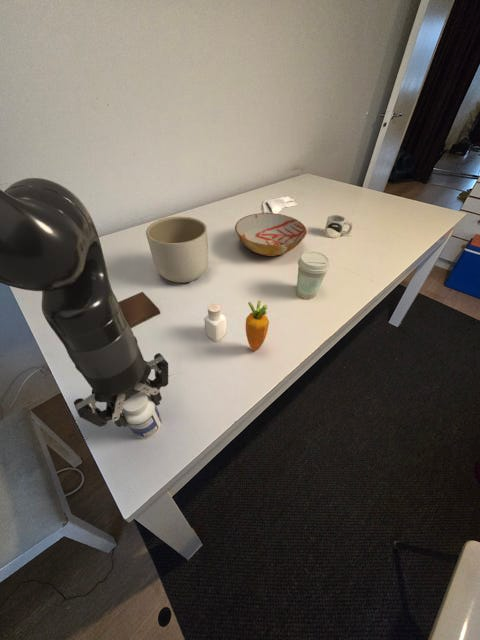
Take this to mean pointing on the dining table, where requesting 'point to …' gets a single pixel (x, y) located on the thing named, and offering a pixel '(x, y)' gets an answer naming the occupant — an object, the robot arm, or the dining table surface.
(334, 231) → the mug
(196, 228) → the planter
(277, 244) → the bowl
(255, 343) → the carrot
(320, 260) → the coffee cup
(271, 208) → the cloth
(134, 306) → the board
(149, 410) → the pill bottle
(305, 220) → the dining table surface
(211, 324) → the pepper shaker
